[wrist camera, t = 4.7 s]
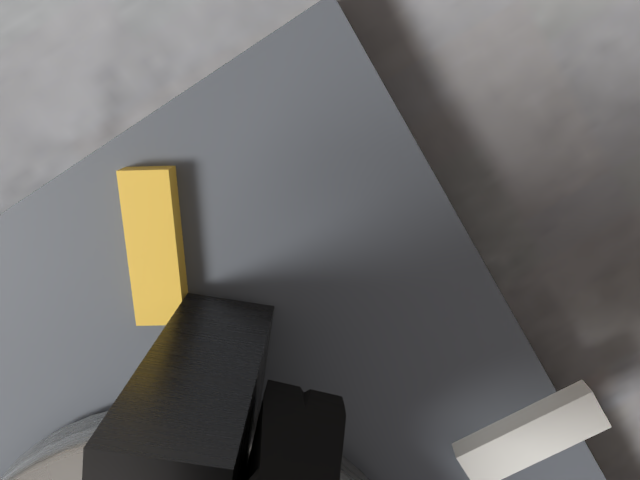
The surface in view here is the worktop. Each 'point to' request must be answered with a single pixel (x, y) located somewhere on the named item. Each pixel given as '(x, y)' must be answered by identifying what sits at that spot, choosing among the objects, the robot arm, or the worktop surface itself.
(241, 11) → the worktop surface
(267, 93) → the board
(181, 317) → the dial
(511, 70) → the worktop surface
